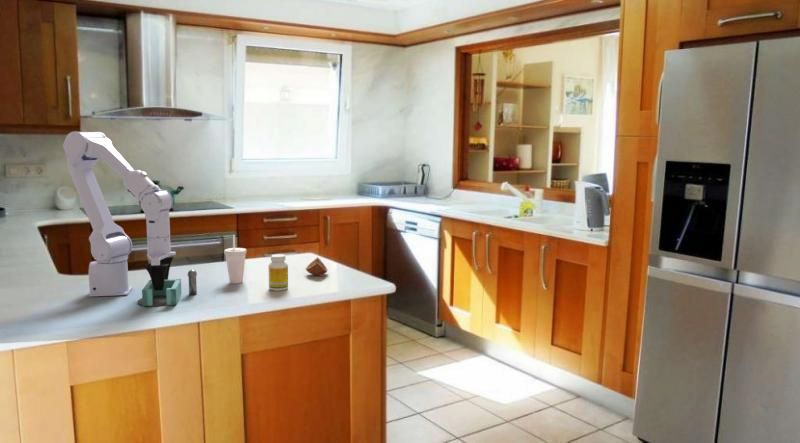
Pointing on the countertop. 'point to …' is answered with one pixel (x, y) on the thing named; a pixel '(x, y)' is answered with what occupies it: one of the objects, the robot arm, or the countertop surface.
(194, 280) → the cylinder
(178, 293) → the c link
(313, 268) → the brown wedge block
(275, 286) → the supplement bottle
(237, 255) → the smoothie
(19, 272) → the countertop surface
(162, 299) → the coaster
